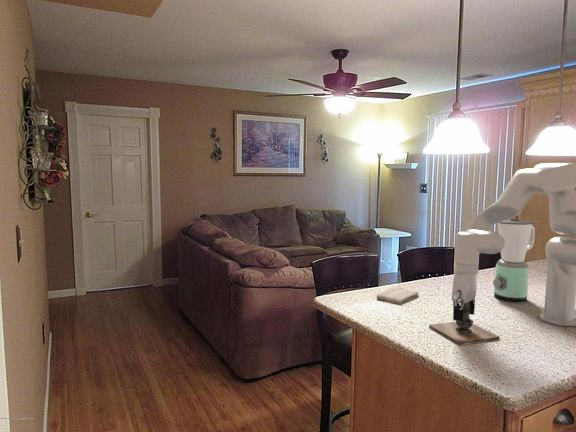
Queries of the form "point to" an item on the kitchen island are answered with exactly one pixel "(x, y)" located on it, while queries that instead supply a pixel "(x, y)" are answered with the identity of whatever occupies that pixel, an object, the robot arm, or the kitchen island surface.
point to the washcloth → (397, 295)
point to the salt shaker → (465, 320)
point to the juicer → (513, 260)
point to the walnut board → (463, 338)
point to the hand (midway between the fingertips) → (463, 317)
